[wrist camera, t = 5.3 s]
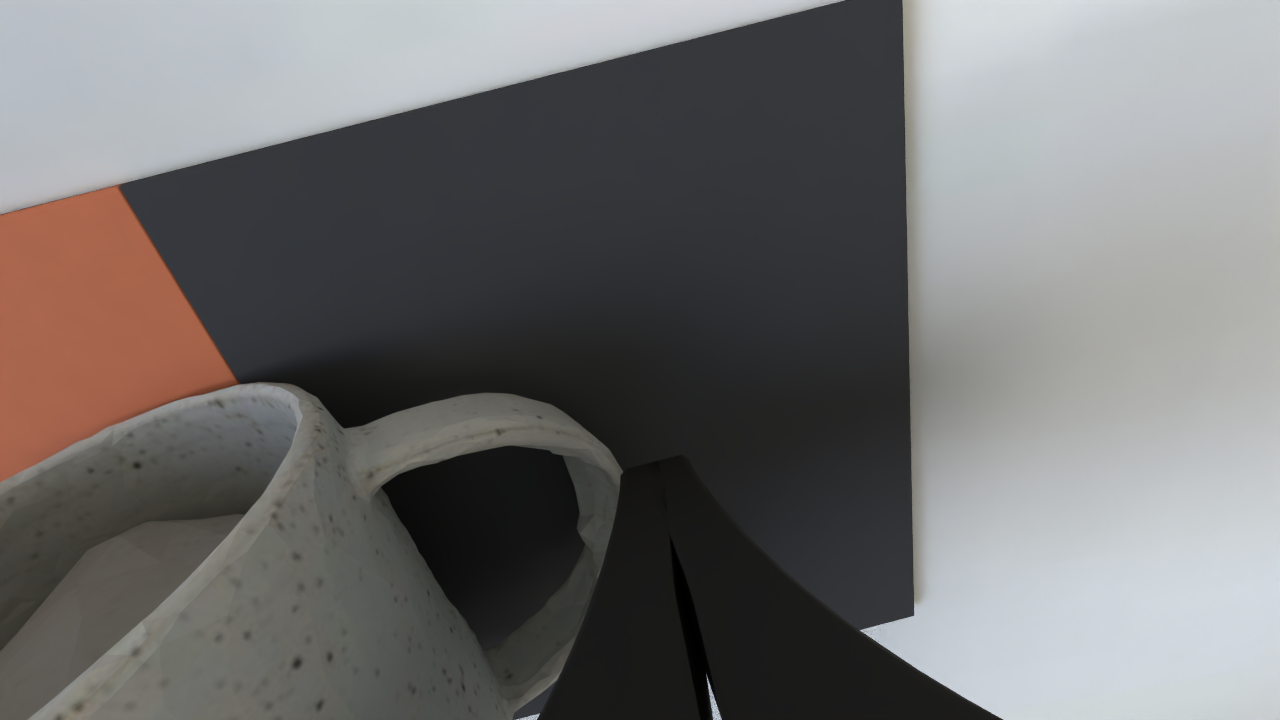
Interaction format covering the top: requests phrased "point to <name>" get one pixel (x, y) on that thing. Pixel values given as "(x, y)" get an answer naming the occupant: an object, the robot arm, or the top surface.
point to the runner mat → (536, 300)
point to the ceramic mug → (270, 566)
